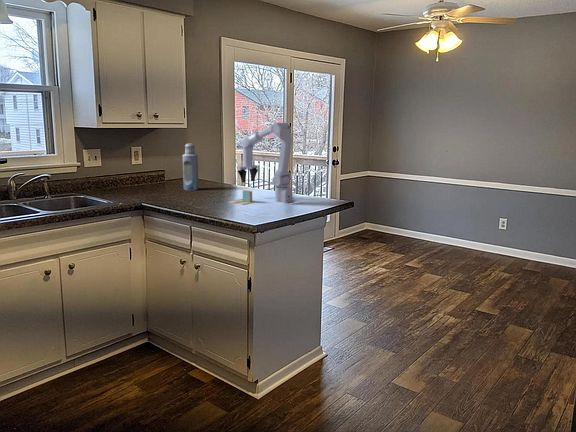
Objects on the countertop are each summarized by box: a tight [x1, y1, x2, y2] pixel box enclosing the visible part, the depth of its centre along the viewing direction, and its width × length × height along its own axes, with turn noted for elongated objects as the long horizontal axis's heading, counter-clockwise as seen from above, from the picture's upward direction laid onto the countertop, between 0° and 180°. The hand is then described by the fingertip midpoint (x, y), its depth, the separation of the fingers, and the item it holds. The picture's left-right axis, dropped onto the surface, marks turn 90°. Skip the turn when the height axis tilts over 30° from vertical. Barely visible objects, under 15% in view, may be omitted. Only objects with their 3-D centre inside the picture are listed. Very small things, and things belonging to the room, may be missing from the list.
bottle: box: [182, 143, 199, 191], centre depth 319 cm, size 10×10×30 cm
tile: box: [242, 189, 253, 202], centre depth 272 cm, size 6×2×6 cm, turn 50°
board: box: [228, 198, 260, 206], centre depth 272 cm, size 14×13×1 cm
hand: (248, 181), depth 287 cm, fingers open, 7 cm apart
